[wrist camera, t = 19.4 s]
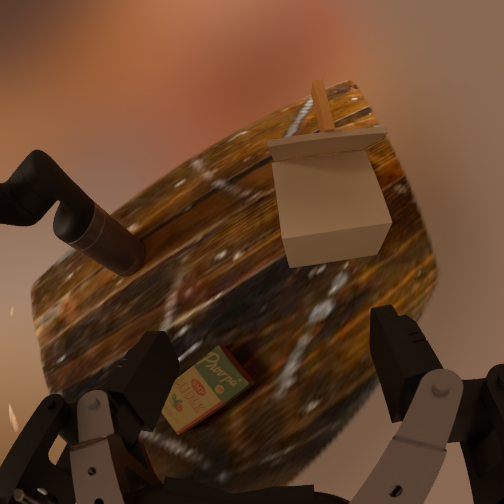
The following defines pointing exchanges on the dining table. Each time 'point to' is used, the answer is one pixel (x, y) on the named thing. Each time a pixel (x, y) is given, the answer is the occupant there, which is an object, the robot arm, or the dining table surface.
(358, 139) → the tan box lid
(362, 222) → the cardboard box
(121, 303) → the dining table surface
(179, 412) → the carton
